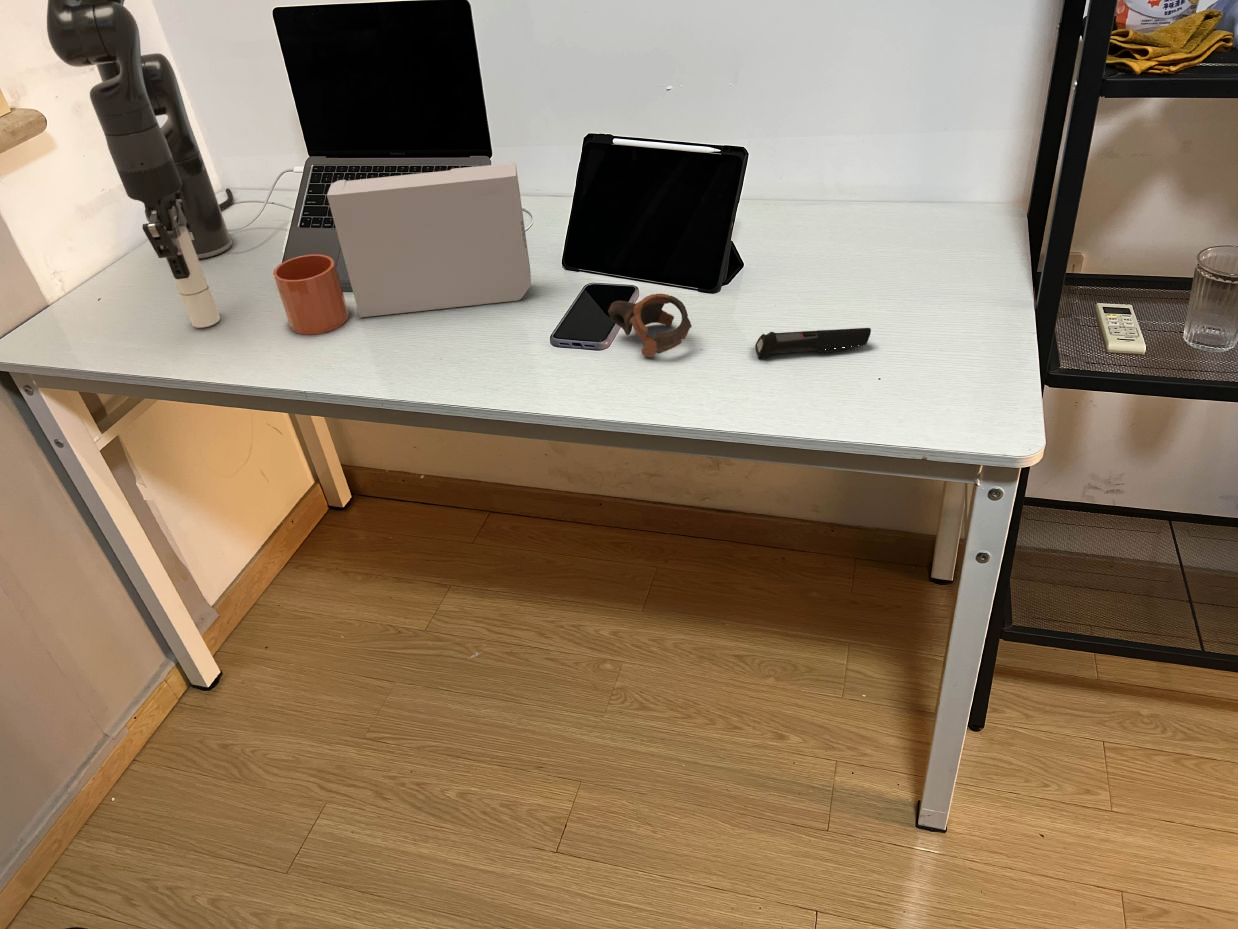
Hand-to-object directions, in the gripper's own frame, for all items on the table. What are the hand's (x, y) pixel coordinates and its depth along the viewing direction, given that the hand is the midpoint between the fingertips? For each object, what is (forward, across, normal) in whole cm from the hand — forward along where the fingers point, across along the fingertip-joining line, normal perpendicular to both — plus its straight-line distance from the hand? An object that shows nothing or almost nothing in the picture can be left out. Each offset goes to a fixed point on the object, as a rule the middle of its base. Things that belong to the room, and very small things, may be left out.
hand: (186, 269), depth 140 cm
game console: (+9, -3, -38) cm, 39 cm away
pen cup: (+9, -4, -18) cm, 21 cm away
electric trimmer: (+9, -32, -88) cm, 94 cm away
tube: (+9, 0, 0) cm, 9 cm away
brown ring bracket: (+9, -24, -67) cm, 72 cm away
